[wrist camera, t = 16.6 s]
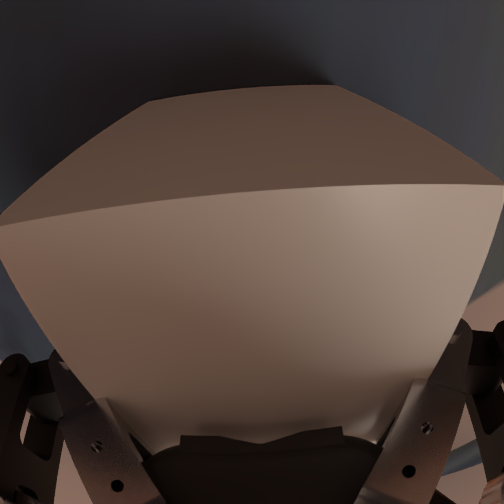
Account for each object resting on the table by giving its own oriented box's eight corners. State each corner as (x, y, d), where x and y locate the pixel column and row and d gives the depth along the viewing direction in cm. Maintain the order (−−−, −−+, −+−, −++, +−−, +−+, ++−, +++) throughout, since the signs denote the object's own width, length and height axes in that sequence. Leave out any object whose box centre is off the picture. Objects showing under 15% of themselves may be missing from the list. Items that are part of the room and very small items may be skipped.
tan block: (335, 85, 10) (507, 185, 3) (325, 308, 16) (361, 471, 9) (148, 101, 10) (-14, 229, 3) (197, 317, 17) (180, 482, 9)
